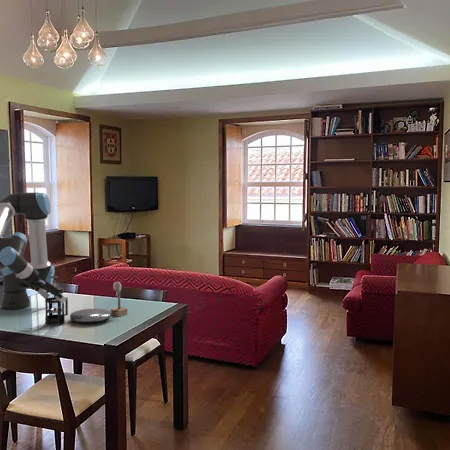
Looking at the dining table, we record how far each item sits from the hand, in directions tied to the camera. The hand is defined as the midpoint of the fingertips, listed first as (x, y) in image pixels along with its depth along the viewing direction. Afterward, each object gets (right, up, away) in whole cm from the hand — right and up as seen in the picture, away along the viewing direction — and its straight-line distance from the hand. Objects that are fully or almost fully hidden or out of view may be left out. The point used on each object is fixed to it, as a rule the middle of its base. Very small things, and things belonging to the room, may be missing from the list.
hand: (56, 299), depth 231 cm
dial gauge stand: (+27, -11, +19) cm, 34 cm away
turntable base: (+15, -12, +7) cm, 20 cm away
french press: (0, -12, +1) cm, 12 cm away
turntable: (+15, -10, +7) cm, 19 cm away
